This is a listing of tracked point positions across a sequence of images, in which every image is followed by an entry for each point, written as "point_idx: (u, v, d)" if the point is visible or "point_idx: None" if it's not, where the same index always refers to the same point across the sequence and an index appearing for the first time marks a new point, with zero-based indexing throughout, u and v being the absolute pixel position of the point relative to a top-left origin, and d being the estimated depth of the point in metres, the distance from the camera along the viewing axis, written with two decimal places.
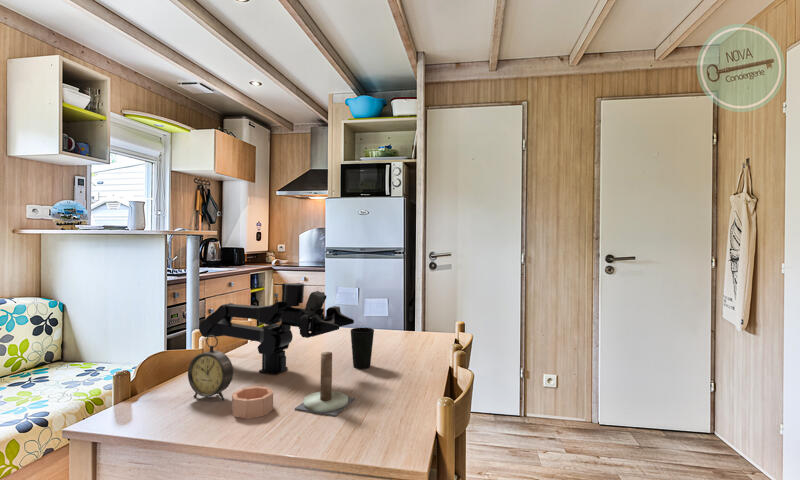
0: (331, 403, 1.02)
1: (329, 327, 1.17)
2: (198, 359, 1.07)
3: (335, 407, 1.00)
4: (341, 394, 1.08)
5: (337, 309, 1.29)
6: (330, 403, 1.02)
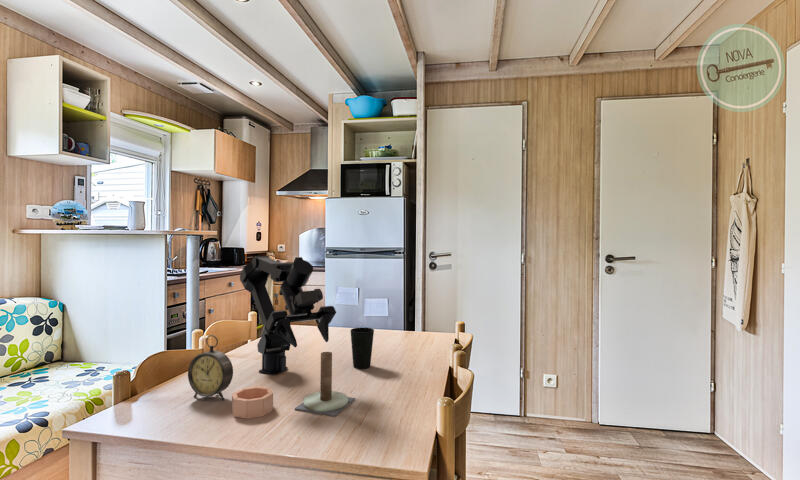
0: (331, 403, 1.02)
1: (289, 338, 1.09)
2: (198, 359, 1.07)
3: (335, 407, 1.00)
4: (341, 394, 1.08)
5: (327, 315, 1.17)
6: (330, 403, 1.02)
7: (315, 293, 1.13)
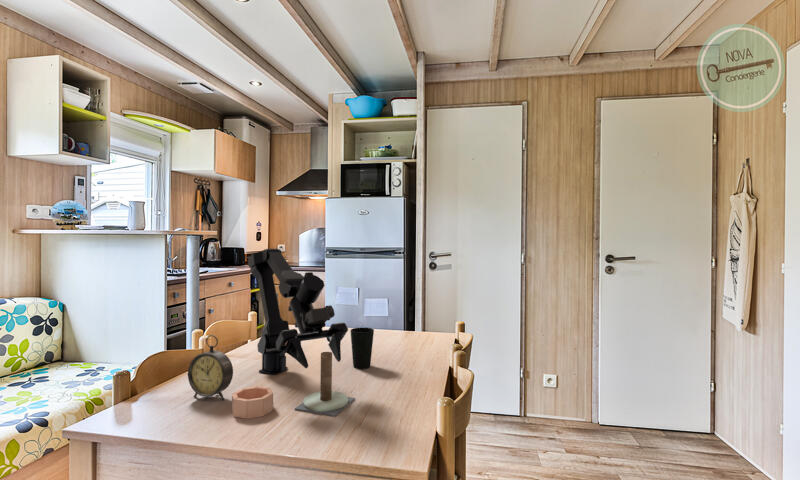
0: (331, 403, 1.02)
1: (299, 359, 1.04)
2: (198, 359, 1.07)
3: (335, 407, 1.00)
4: (341, 394, 1.08)
5: (339, 333, 1.11)
6: (330, 403, 1.02)
7: (326, 310, 1.08)
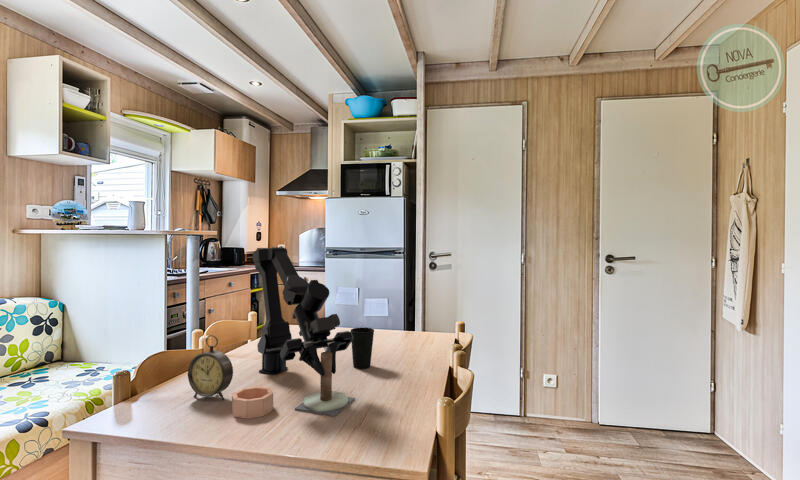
0: (331, 403, 1.02)
1: (316, 367, 1.03)
2: (198, 359, 1.07)
3: (335, 407, 1.00)
4: (341, 394, 1.08)
5: (334, 344, 1.07)
6: (330, 403, 1.02)
7: (332, 319, 1.06)
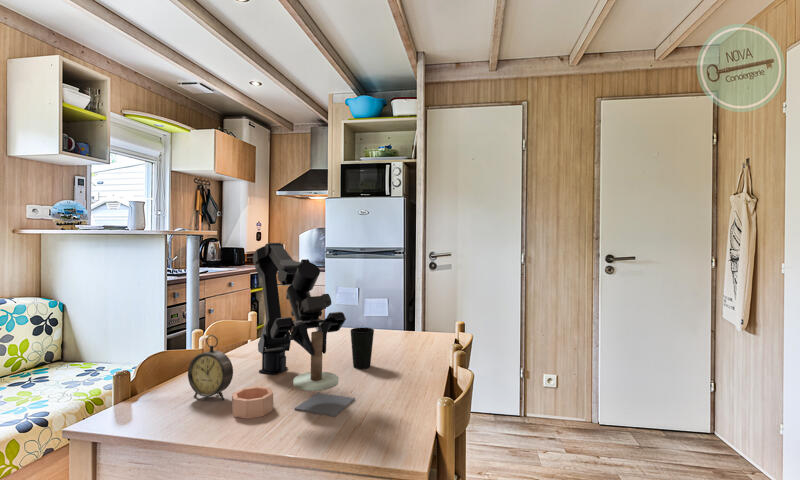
0: (321, 382, 1.01)
1: (306, 346, 1.02)
2: (198, 359, 1.07)
3: (324, 386, 0.99)
4: (332, 374, 1.07)
5: (326, 323, 1.06)
6: (320, 382, 1.01)
7: (323, 299, 1.04)
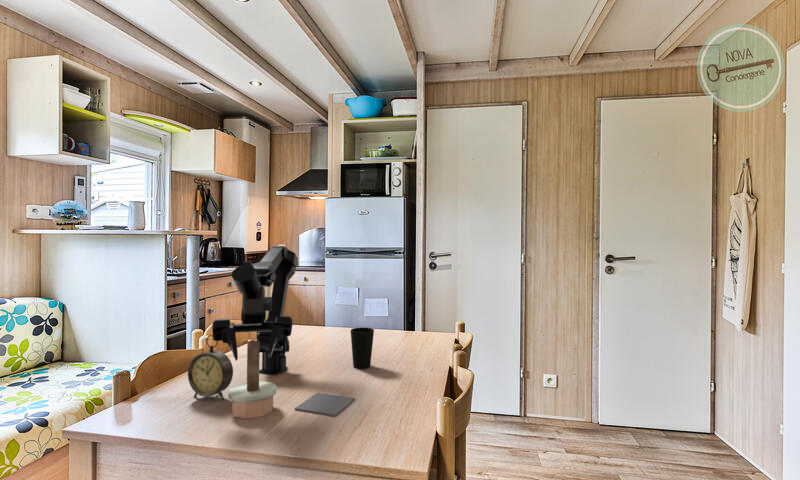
0: (251, 394, 0.97)
1: (232, 350, 1.00)
2: (198, 359, 1.07)
3: (251, 398, 0.95)
4: (273, 386, 1.03)
5: (275, 327, 1.04)
6: (250, 393, 0.98)
7: (261, 302, 1.01)
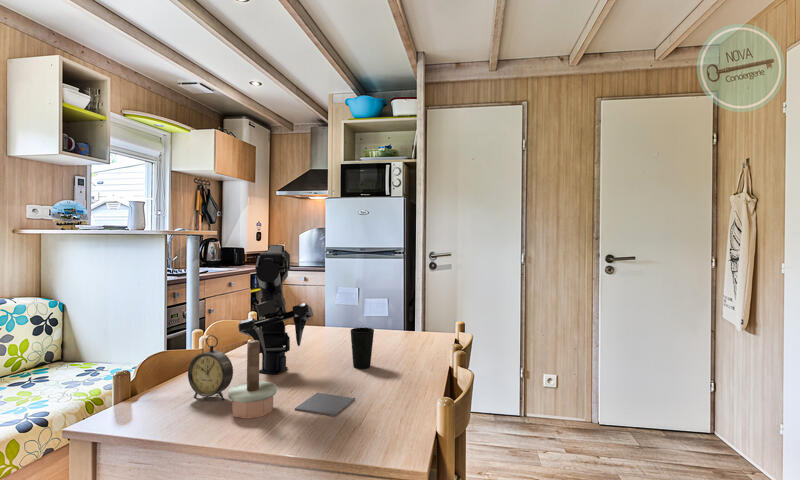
0: (251, 394, 0.97)
1: None
2: (198, 359, 1.07)
3: (251, 398, 0.95)
4: (273, 386, 1.03)
5: (297, 318, 1.09)
6: (250, 393, 0.98)
7: (271, 304, 1.05)
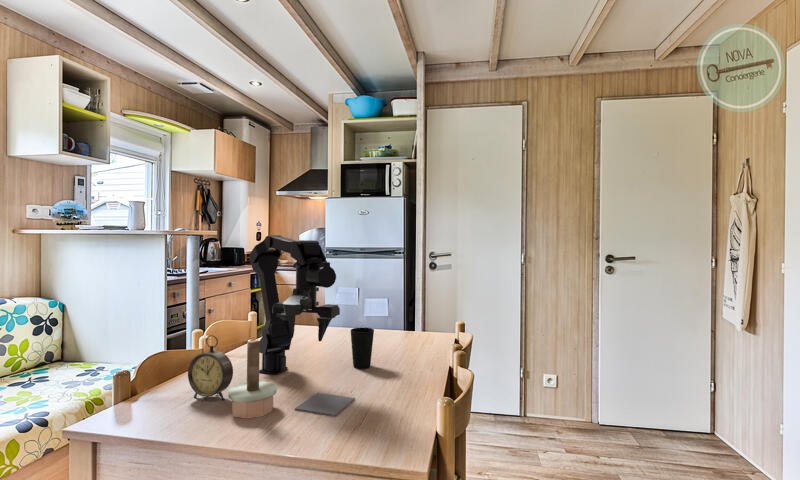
0: (251, 394, 0.97)
1: None
2: (198, 359, 1.07)
3: (251, 398, 0.95)
4: (273, 386, 1.03)
5: (320, 319, 1.13)
6: (250, 393, 0.98)
7: (295, 307, 1.09)
